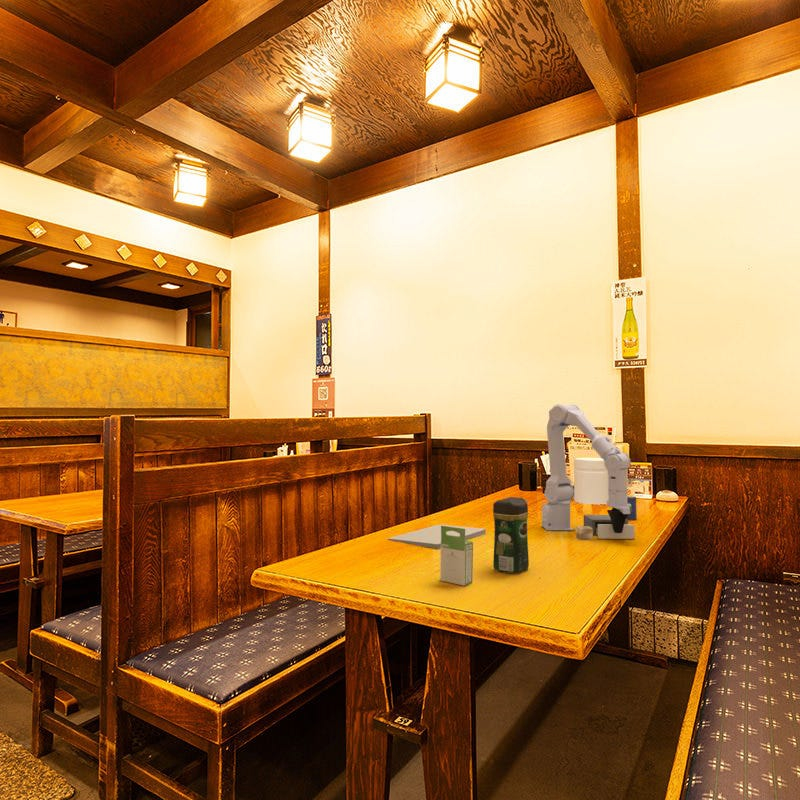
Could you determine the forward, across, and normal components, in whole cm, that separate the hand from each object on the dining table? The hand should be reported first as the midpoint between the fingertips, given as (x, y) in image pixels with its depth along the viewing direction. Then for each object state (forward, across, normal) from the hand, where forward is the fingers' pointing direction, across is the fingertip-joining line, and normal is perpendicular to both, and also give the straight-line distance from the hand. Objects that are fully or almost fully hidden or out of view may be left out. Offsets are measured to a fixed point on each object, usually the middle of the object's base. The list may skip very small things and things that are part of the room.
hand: (618, 532), depth 174 cm
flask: (+3, +35, -16) cm, 39 cm away
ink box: (+3, -46, +56) cm, 72 cm away
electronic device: (+3, +3, +58) cm, 58 cm away
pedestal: (+2, +2, +10) cm, 11 cm away
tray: (+2, +7, 0) cm, 7 cm away
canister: (+3, +78, -18) cm, 80 cm away
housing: (+2, +11, 0) cm, 11 cm away
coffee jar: (+3, -35, +41) cm, 54 cm away
